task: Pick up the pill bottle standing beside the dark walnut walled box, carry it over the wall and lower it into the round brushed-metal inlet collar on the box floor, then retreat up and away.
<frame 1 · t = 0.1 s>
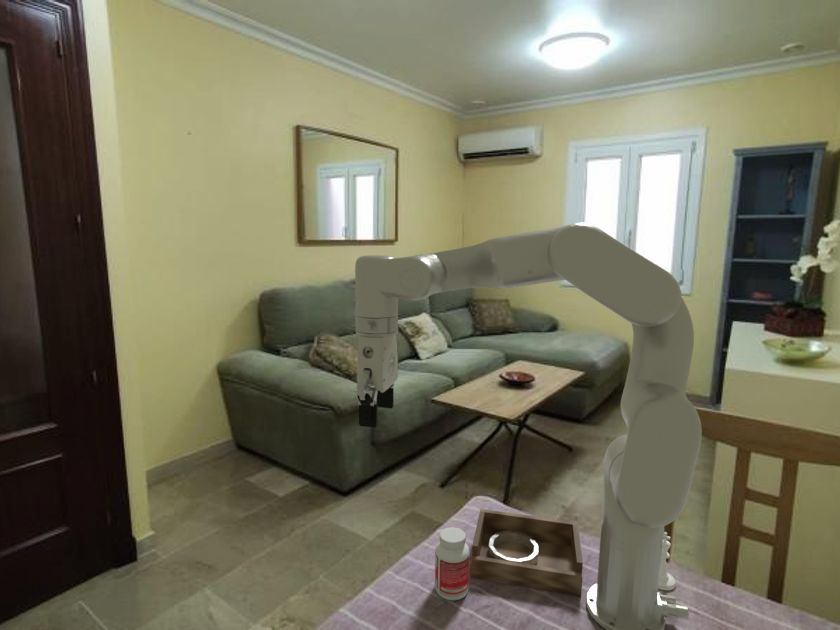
hand: (377, 416, 89), 31 cm above the table, fingers open, 9 cm apart
pill bottle: (451, 590, 89), on the table
chess piece: (660, 582, 92), on the table
inlet collar: (512, 558, 98), resting on walled box
walled box: (525, 562, 97), on the table
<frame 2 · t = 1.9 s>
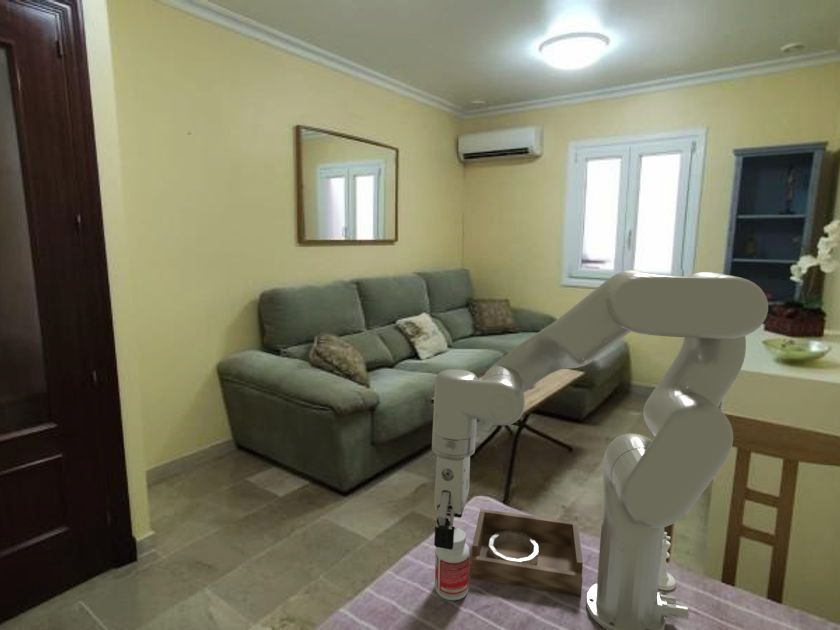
hand: (448, 530, 87), 12 cm above the table, fingers open, 9 cm apart
nothing on the table moved.
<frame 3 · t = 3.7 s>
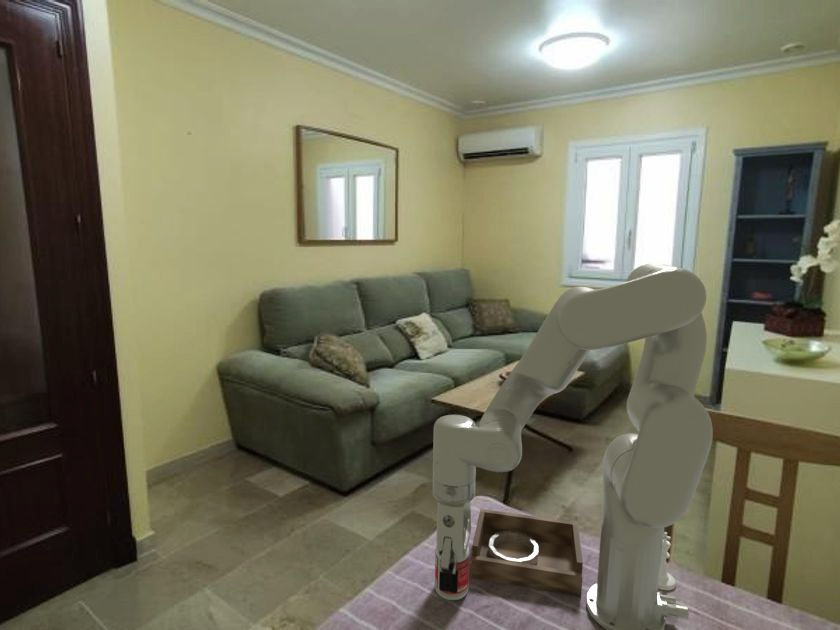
hand: (451, 576, 89), 3 cm above the table, fingers closed on pill bottle, 6 cm apart
pill bottle: (451, 590, 89), on the table, touching gripper
everything else where it was.
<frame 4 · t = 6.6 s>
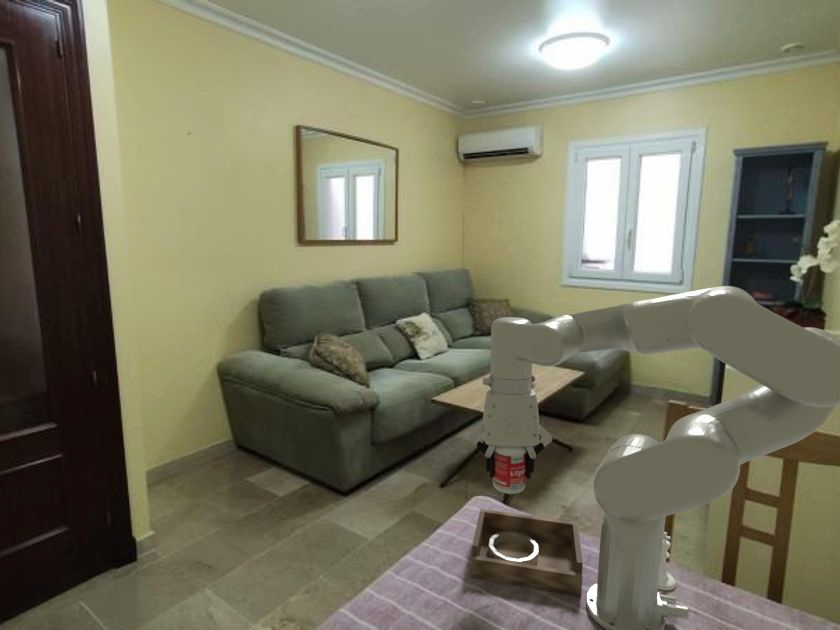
hand: (509, 474, 93), 19 cm above the table, fingers closed on pill bottle, 6 cm apart
pill bottle: (509, 487, 93), point 16 cm above the table, touching gripper
everything else where it was.
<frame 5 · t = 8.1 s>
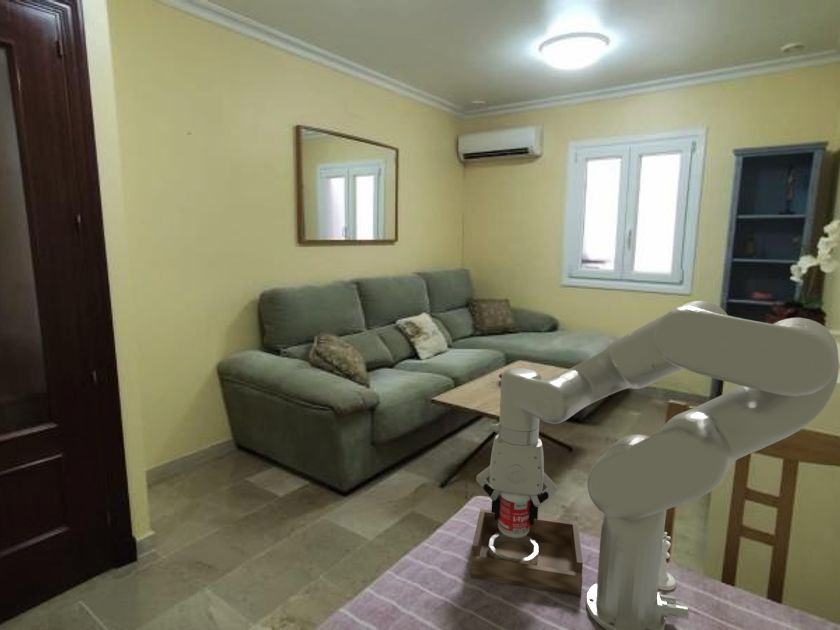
hand: (514, 517, 96), 9 cm above the table, fingers closed on pill bottle, 6 cm apart
pill bottle: (513, 530, 97), point 6 cm above the table, touching gripper
everything else where it was.
when the fingers open (5 cm above the table, at t = 9.5 s): pill bottle drops 1 cm, resting on walled box.
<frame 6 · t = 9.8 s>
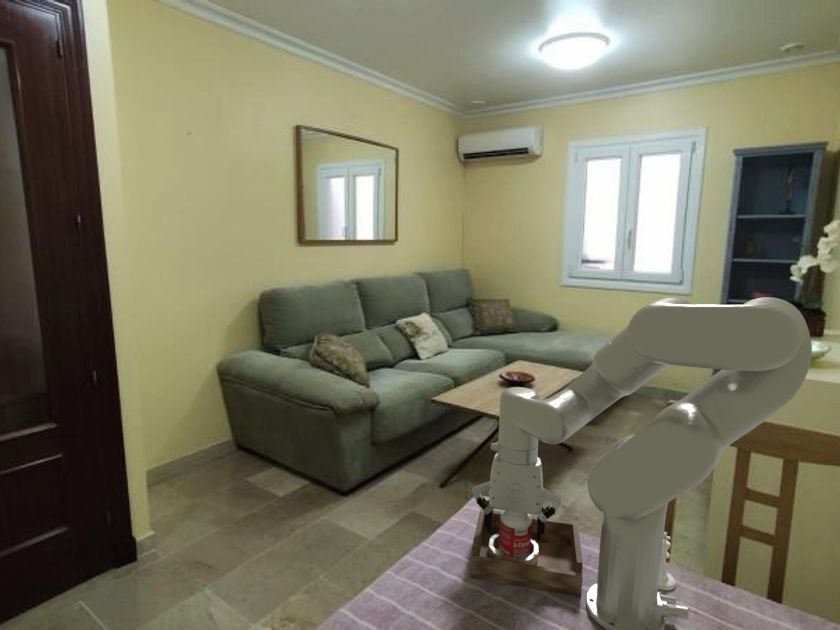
hand: (514, 532, 97), 6 cm above the table, fingers open, 9 cm apart
pill bottle: (514, 555, 97), point 1 cm above the table, touching walled box
everything else where it was.
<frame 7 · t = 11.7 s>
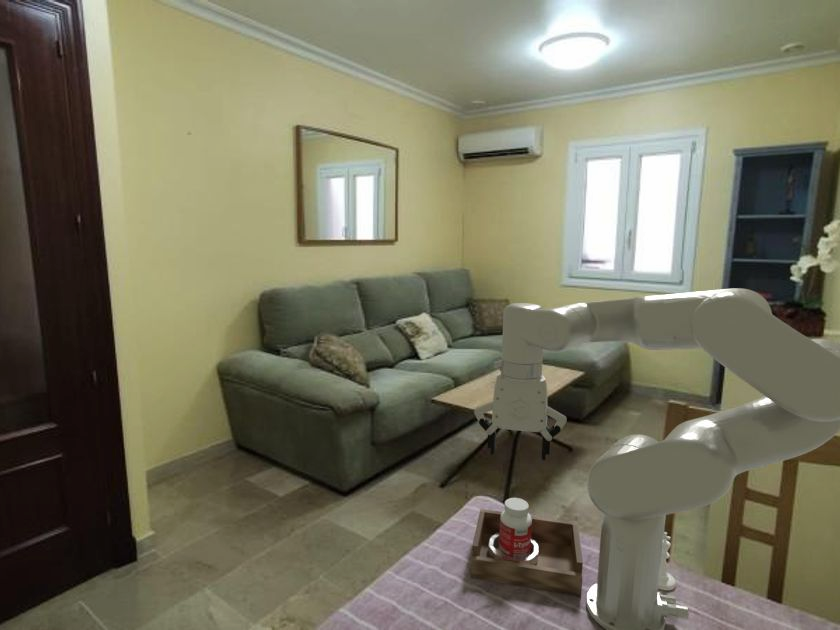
hand: (517, 454, 94), 22 cm above the table, fingers open, 9 cm apart
nothing on the table moved.
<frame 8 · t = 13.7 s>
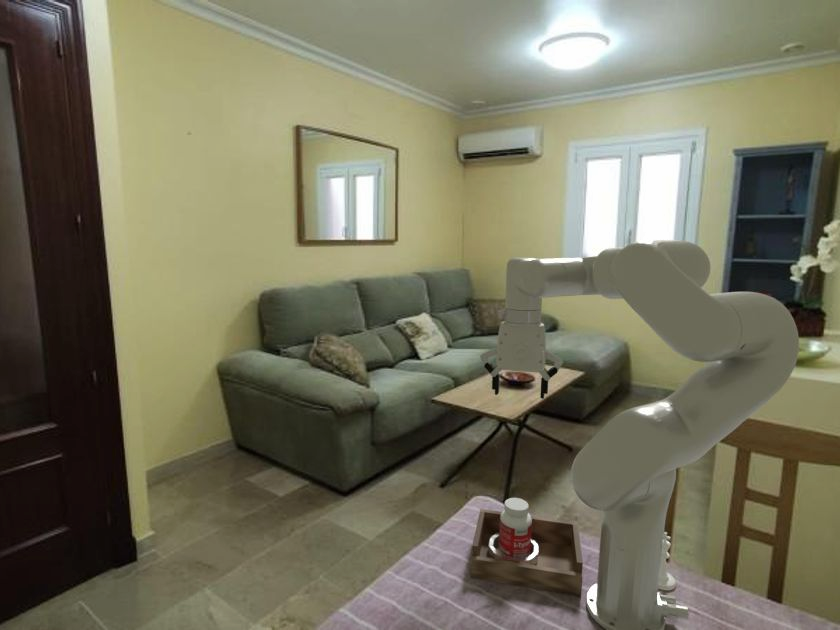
hand: (519, 394, 105), 30 cm above the table, fingers open, 9 cm apart
nothing on the table moved.
at the end: pill bottle 0.2 cm from the target spot on the walled box, point 0.8 cm above the walled box's base; pill bottle tilted 0°; the gripper is holding nothing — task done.
